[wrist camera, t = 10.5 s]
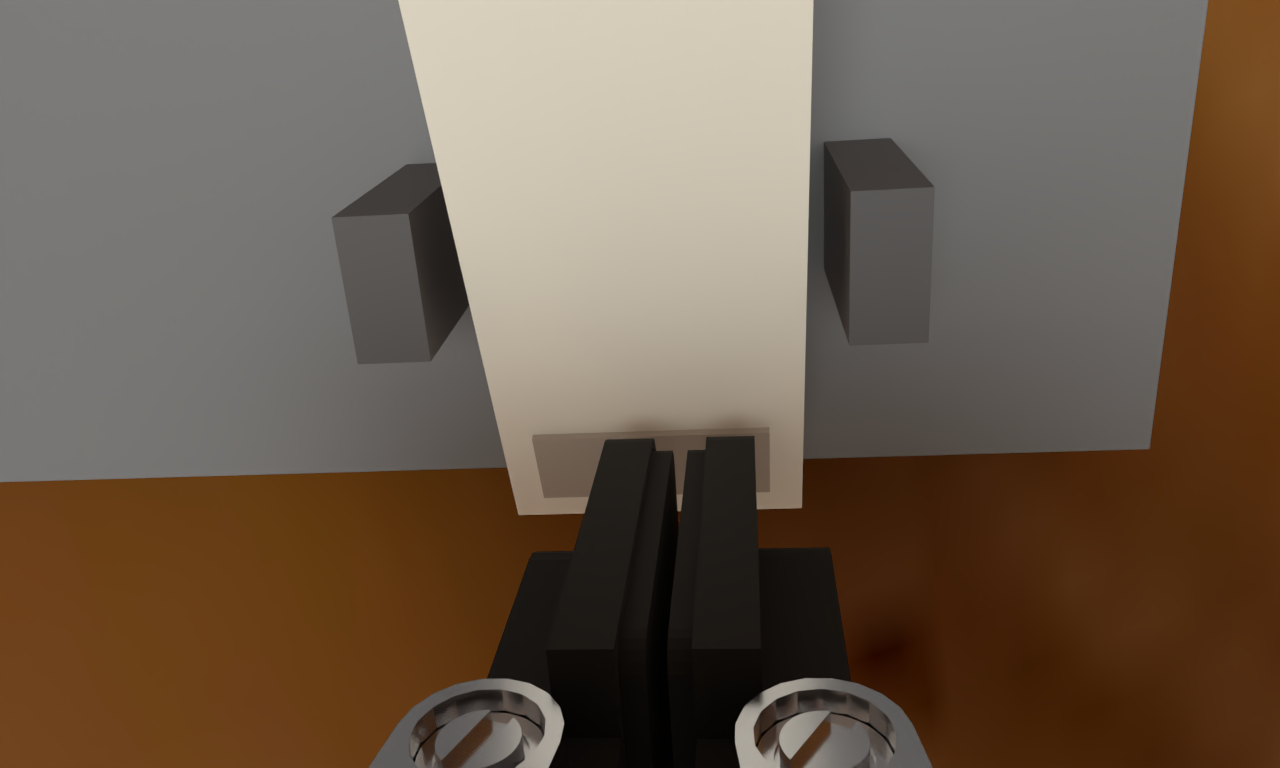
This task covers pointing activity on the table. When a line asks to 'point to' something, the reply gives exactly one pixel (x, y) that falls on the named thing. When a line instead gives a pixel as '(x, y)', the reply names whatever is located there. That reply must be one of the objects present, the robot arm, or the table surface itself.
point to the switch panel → (429, 265)
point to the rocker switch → (628, 224)
